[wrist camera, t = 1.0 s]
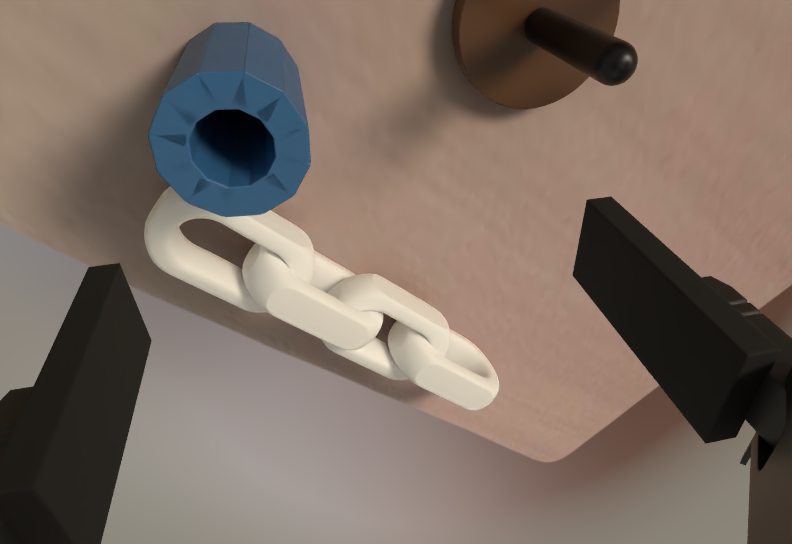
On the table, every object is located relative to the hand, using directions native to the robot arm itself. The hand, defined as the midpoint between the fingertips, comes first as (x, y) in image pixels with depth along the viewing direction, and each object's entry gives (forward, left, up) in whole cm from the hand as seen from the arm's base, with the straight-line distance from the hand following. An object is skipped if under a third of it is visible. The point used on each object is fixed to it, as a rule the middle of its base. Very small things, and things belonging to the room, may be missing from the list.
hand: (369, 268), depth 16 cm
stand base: (+4, +13, -21) cm, 25 cm away
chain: (+15, -7, -21) cm, 27 cm away
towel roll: (-2, -4, -21) cm, 22 cm away
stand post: (+4, +13, -20) cm, 24 cm away
